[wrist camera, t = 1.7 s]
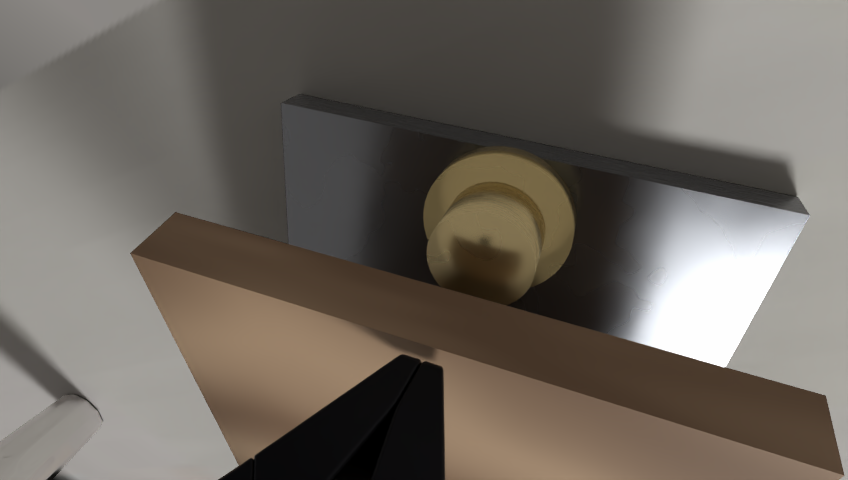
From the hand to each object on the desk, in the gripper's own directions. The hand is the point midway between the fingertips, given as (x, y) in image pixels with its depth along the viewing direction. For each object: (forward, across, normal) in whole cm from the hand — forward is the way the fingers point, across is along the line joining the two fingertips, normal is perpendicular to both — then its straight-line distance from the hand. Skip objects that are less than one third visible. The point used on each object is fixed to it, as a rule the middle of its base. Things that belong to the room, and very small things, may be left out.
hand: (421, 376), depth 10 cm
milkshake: (+10, +26, +23) cm, 36 cm away
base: (+9, 0, +6) cm, 11 cm away
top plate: (+4, 0, +7) cm, 8 cm away
